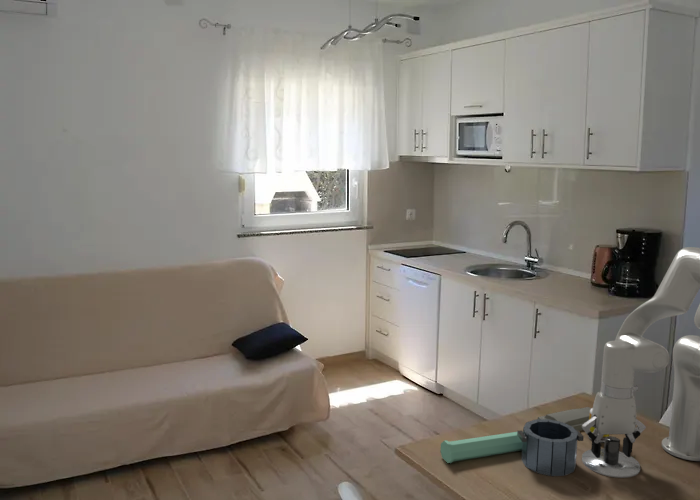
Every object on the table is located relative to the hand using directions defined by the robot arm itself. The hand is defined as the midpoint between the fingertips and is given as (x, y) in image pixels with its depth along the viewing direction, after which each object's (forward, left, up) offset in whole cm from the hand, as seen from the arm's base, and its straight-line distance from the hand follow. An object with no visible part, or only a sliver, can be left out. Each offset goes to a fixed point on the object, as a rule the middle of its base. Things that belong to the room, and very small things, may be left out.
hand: (611, 454), depth 167 cm
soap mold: (0, -25, -3) cm, 25 cm away
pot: (+16, -1, -2) cm, 16 cm away
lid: (0, 0, -3) cm, 3 cm away
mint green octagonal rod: (+30, -7, -3) cm, 31 cm away
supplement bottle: (-3, -14, -3) cm, 15 cm away
